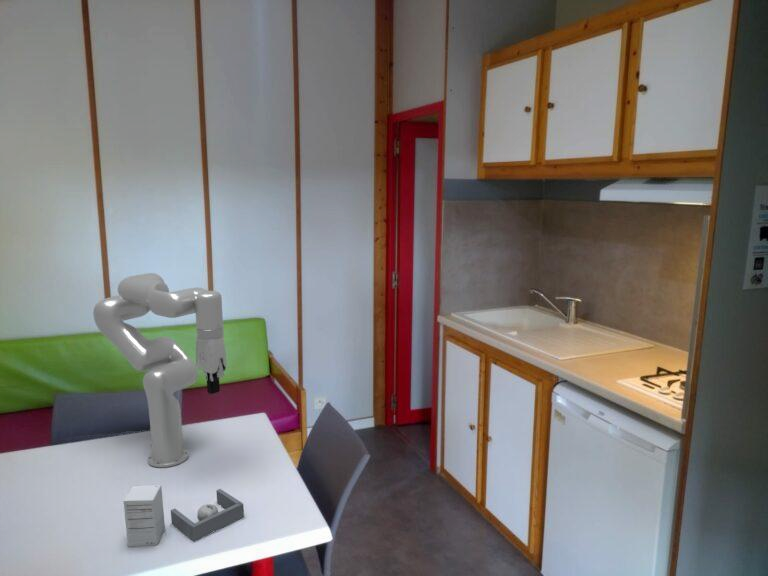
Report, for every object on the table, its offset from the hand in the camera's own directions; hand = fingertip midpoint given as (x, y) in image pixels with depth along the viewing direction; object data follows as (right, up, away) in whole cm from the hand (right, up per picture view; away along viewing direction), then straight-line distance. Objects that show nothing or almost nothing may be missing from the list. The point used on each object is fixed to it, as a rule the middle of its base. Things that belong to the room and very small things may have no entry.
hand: (213, 392), depth 174 cm
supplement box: (-9, -33, -26) cm, 43 cm away
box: (+4, -31, -19) cm, 36 cm away
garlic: (+4, -31, -19) cm, 37 cm away
